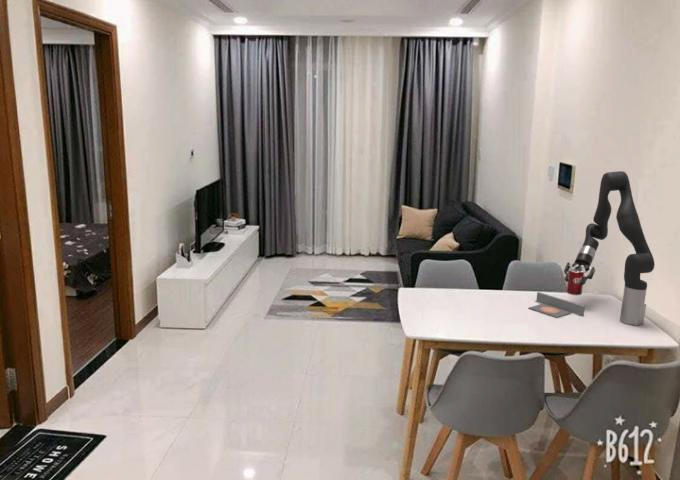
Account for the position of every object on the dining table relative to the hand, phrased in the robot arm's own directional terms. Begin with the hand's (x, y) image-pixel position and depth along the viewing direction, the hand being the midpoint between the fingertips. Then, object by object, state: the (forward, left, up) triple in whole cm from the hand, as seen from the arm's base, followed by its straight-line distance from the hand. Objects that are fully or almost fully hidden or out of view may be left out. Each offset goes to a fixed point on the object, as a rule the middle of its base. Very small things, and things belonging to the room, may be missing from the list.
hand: (574, 282), depth 279 cm
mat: (+2, +15, -13) cm, 20 cm away
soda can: (0, -1, -6) cm, 6 cm away
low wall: (+2, +7, -13) cm, 15 cm away
